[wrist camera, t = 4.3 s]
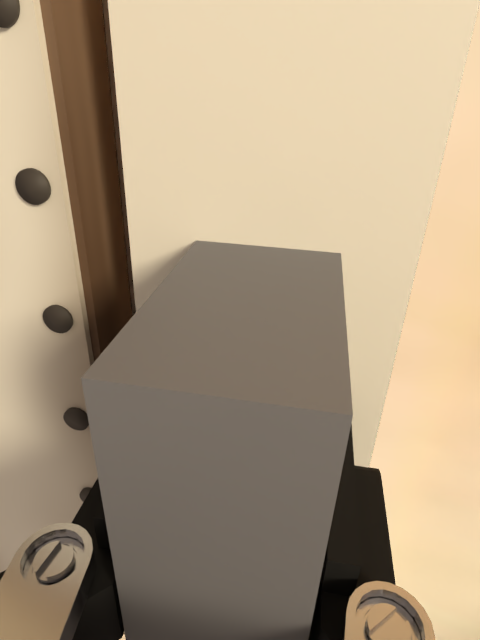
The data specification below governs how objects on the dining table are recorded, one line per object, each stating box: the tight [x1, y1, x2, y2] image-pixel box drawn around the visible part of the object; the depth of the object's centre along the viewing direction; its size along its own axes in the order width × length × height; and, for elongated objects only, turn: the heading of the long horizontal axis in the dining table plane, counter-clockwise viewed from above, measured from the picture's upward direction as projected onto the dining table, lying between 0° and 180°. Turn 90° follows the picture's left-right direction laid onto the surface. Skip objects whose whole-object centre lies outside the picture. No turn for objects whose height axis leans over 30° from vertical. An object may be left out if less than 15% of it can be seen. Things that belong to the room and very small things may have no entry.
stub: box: [81, 0, 480, 640], centre depth 10 cm, size 6×21×7 cm, turn 178°
